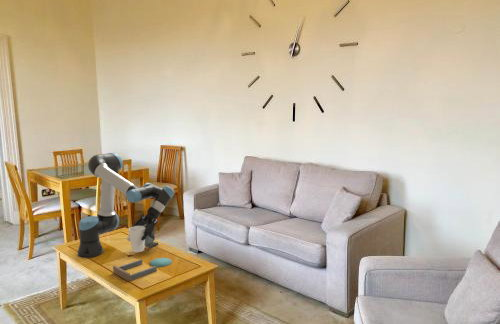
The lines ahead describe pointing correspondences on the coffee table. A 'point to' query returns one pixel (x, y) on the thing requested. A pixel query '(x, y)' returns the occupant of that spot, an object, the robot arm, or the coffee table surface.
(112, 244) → the coffee table surface
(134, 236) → the foam cup
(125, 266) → the cup lane
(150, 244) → the grey rock
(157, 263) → the teal mat
